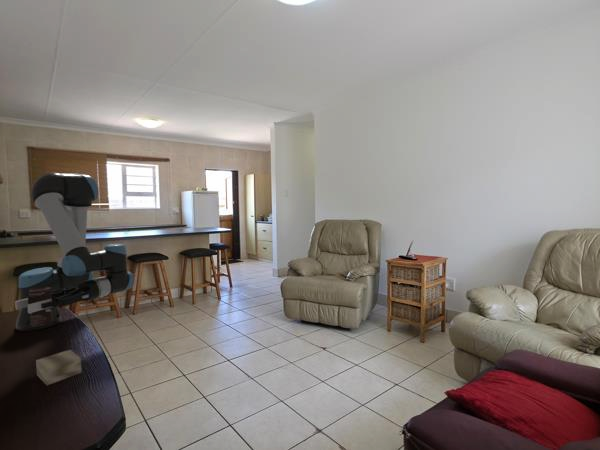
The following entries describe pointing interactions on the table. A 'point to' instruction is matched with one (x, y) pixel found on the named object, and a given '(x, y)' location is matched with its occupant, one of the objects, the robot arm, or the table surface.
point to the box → (43, 315)
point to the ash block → (58, 367)
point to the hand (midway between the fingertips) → (22, 307)
